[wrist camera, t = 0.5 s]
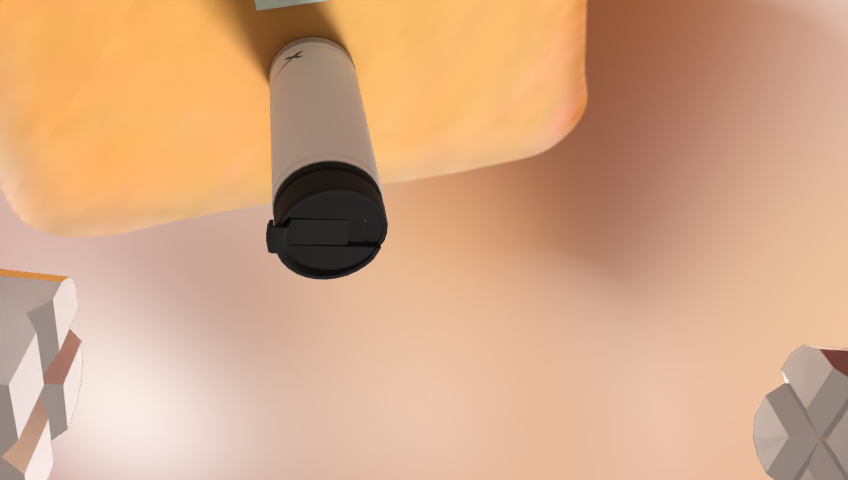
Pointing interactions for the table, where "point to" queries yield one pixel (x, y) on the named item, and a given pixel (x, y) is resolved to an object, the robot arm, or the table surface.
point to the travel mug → (322, 164)
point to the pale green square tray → (280, 3)
